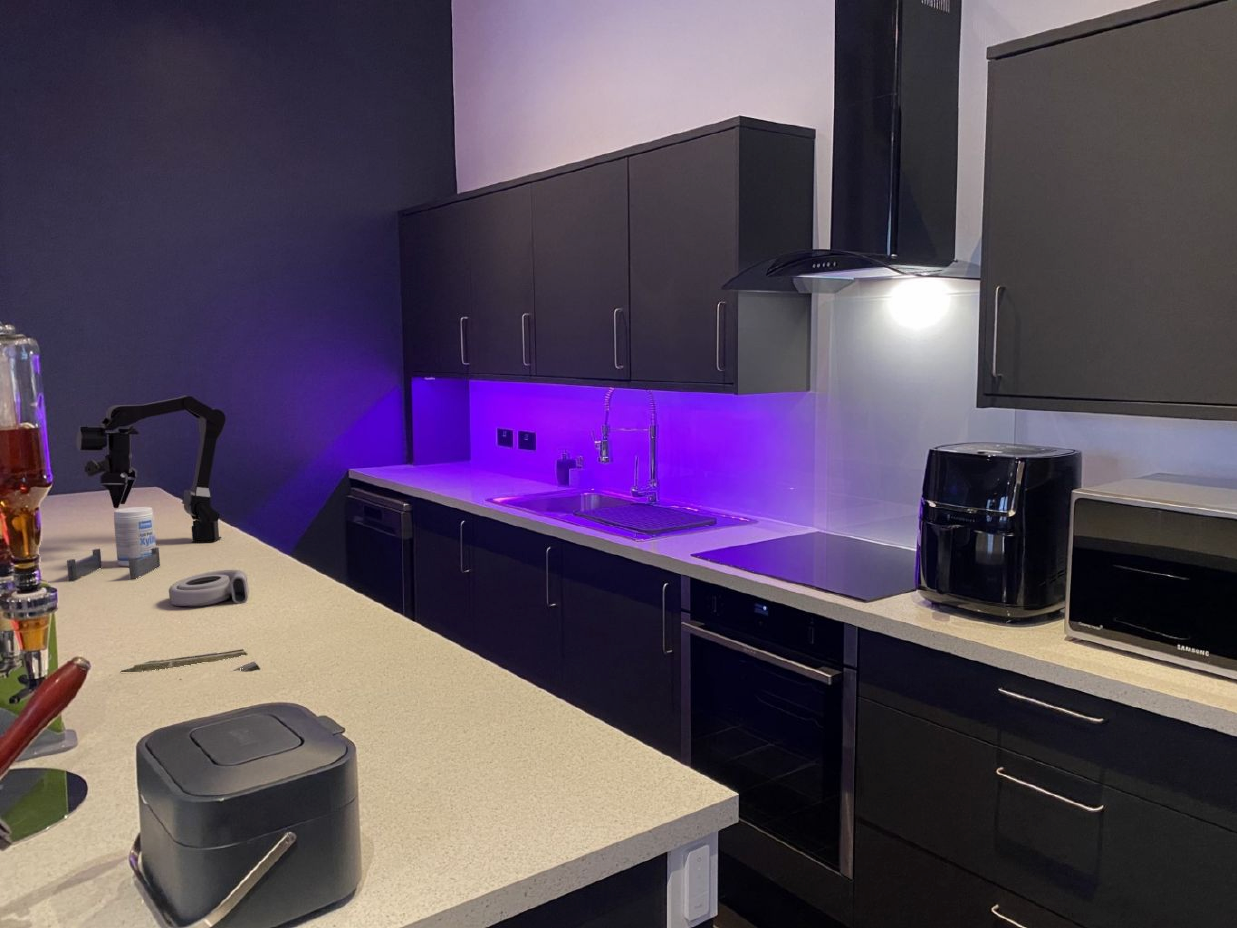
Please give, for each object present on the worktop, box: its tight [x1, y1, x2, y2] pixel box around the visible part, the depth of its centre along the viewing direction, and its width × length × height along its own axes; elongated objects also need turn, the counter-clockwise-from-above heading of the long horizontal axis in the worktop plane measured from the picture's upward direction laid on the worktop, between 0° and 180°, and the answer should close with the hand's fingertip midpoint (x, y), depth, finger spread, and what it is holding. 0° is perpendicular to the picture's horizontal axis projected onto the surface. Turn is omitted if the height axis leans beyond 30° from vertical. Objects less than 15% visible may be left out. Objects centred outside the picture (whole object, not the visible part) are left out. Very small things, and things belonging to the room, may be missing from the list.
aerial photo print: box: [120, 649, 261, 681], centre depth 173 cm, size 25×19×2 cm
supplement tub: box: [113, 506, 157, 567], centre depth 263 cm, size 10×10×15 cm
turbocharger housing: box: [168, 569, 250, 608], centre depth 224 cm, size 17×6×15 cm
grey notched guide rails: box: [66, 546, 161, 582], centre depth 251 cm, size 16×14×5 cm
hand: (119, 506), depth 276 cm, fingers open, 9 cm apart
